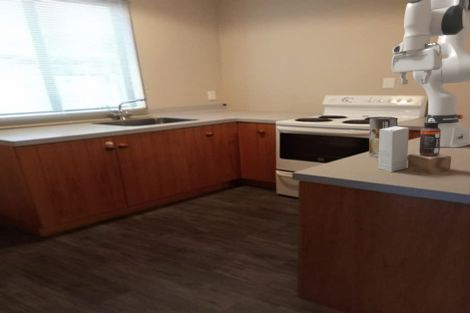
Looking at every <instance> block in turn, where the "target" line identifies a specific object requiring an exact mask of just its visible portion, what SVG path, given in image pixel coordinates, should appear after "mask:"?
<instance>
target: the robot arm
mask: <svg viewBox="0 0 470 313" xmlns="http://www.w3.org/2000/svg"><path fill="white" fill-rule="evenodd" d="M469 12H470V0H410V1H409V2H408V3H407V4H406V5H405V11H404V16H403V17H404V19H403V31H404V35H403V38H402V42H401V43H399V44H397V45H396V46H394V47H393V48H392V49H391V50H392V54H393V55H392V56H391V66H390V67H391V68H390V69H391V72H392V73H393V74H398V76H399V78H400V81H401V82H400V85H408V83H409V82H408V81H409V79H407V78H406V76H407V73H412V77H413V80H414V81H415V82H416V83H417V84H419V85H420V86H421V87H422V89H424V91H425V93H426V95H427V104H428V105H427V108H428V109H427V114H426V121H425V122H429V121H434V122H438V128H440V130H441V136H440V147H442V148H462V147H466V146H470V132H469V129H468V128H466V126H464V125H462V124H461V123H460V122H459V121H460V120H463V119H464V115H463V114H458V113H457V109H458V108H457V106H458V98H457V96H456V94H455V93H453V92H451V91H449V90H446V89H445V88H444V84H461V83H468V82H470V53H469V52H468V51H467V38H468V33H469V27H470V18H469V17H470V16H469ZM434 37H436V38H437V37H438V39H437V42H433V43H432V42H431V38H434ZM443 57H446V58H443Z"/></svg>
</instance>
